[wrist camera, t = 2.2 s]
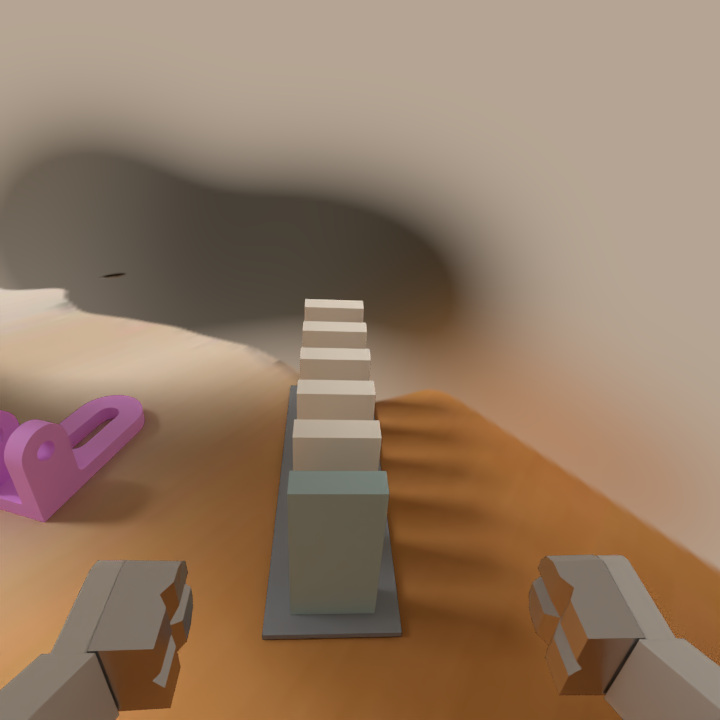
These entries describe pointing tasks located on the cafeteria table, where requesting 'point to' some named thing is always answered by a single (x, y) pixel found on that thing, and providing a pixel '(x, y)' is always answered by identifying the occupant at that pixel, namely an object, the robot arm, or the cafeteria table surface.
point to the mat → (278, 591)
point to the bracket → (60, 453)
